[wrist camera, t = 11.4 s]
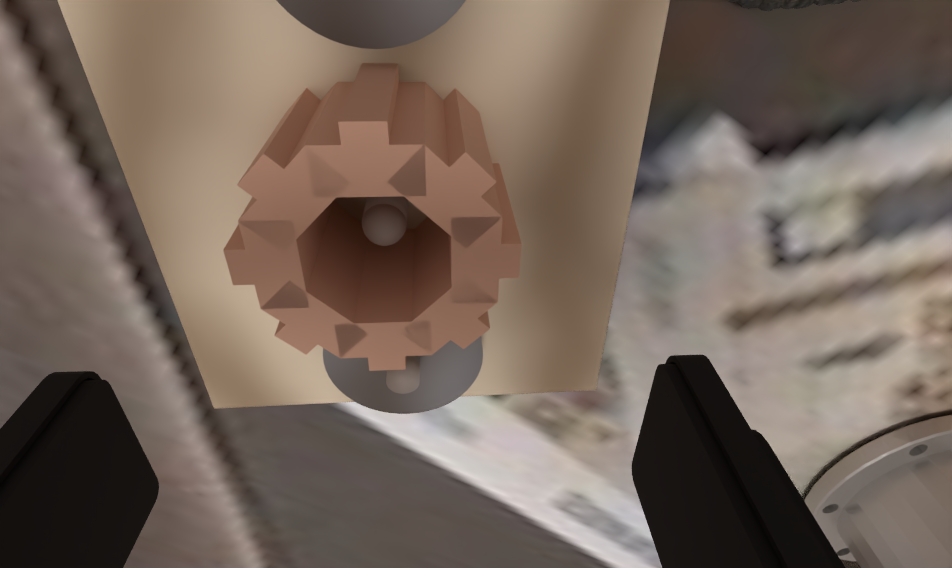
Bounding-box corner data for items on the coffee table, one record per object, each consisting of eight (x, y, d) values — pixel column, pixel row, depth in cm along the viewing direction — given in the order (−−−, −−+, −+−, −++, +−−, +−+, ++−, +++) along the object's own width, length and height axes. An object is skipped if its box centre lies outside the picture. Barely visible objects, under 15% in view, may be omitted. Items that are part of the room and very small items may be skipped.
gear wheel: (503, 63, 16) (531, 120, 11) (494, 268, 20) (511, 365, 15) (251, 62, 15) (186, 122, 11) (294, 273, 19) (258, 374, 15)
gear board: (699, -240, 13) (811, -299, 9) (589, 373, 24) (619, 459, 21) (-15, -261, 12) (-220, -337, 8) (221, 390, 23) (182, 484, 20)
